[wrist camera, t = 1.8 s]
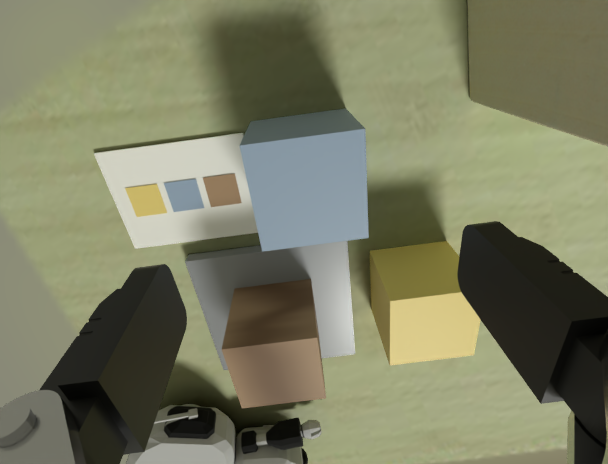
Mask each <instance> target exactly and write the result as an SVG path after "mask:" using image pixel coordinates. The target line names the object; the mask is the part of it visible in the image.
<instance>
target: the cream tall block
mask: <svg viewBox="0 0 608 464" xmlns="http://www.w3.org/2000/svg"><path fill="white" fill-rule="evenodd" d="M468 51H469V86H470V99H471V100H472V101H473V102H476V103H479V104H481V105H484V106H487V107H490V108H493V109H496V110H499V111H502V112H505V113H508V114H511V115H514V116H517V117H520V118H523V119H526V120H529V121H532V122H535V123H538V124H541V125H544V126H547V127H550V128H553V129H556V130H559V131H562V132H566V133H569V134H572V135H575V136H578V137H581V138H584V139H587V140H590V141H593V142H596V143H599V144H602V145H605V146H608V0H468Z"/></svg>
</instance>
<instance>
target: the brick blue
mask: <svg viewBox="0 0 608 464" xmlns="http://www.w3.org/2000/svg"><path fill="white" fill-rule="evenodd" d="M239 146H240V151H241V156H242V160H243V165H244V169H245V174H246V179H247V183H248V188H249V193H250V197H251V202H252V206H253V211H254V216H255V220H256V225H257V230H258V234H259V239H260V243H261V248H262V252H263V251H271V250H279V249H287V248H294V247H302V246H310V245H318V244H325V243H333V242H341V241H349V240H357V239H364V238H369V232H368V201H367V170H366V138H365V128H364V127H363V126H362V125H361V124H360V123H359V122H358V121H357V120H356V119H355V118H354V117H353V116H352V114H351V113H350V112H349V111H348V110H347V109H346V108H345V109H338V110H331V111H323V112H316V113H309V114H301V115H294V116H286V117H279V118H272V119H264V120H257V121H251V122H250V124H249V126H248V128H247V130H246V133H245V135H244V137H243V139H242V141H241V143H240V145H239Z"/></svg>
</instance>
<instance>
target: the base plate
mask: <svg viewBox="0 0 608 464" xmlns="http://www.w3.org/2000/svg"><path fill="white" fill-rule="evenodd" d="M185 263H186V266H187V269H188V271H189V274H190V277H191V280H192V282H193V285H194V288H195V291H196V294H197V296H198V299H199V302H200V305H201V308H202V310H203V313H204V316H205V319H206V322H207V324H208V327H209V330H210V333H211V336H212V338H213V341H214V344H215V347H216V350H217V352H218V355H219V358H220V361H221V364H222V366H223V369H224V370H228V367H227V364H226V361H225V358H224V355H223V352H222V345H223V340H224V335H225V331H226V326H227V321H228V317H229V312H230V307H231V302H232V298H233V293H234V289H235V288H243V287H251V286H259V285H266V284H274V283H282V282H290V281H298V280H306V279H311V282H312V289H313V296H314V303H315V311H316V318H317V325H318V332H319V340H320V349H321V358H328V357H336V356H344V355H352V354H355V344H354V330H353V316H352V301H351V287H350V273H349V258H348V244H347V241H341V242H333V243H325V244H318V245H310V246H302V247H294V248H287V249H279V250H271V251H263V252H262V248H261V245H259V246H251V247H244V248H236V249H228V250H220V251H213V252H205V253H197V254H190V255H188V257H187V259H186V261H185Z"/></svg>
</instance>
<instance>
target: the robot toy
mask: <svg viewBox="0 0 608 464" xmlns="http://www.w3.org/2000/svg"><path fill="white" fill-rule="evenodd" d="M320 434H321V428H320V423H319V422H318V421H317V420H308V421H307V422H305V423H304V424H302V425H300V421H299V418H294V419H289V420H284V421H279V422H278V423H276V424H275V425H263V427H253V428H244V429H243V430H242V431H241V432H240V433H239V434H238V435H237V437H236V432H235V426H234V424H233V422H232V421H231V420H230V418H229V417H228V416H227V415H225V414H224V413H223V412H221V411H220V410H218V409H217V408H212V407H200V406H198V405H195V404H185V405H181V406H179V405H169V406H167V407H165V408H163V409H161V410H158V413H157V416H156V419H155V422H154V425H153V428H152V431H151V434H150V437H149V440H148V443H147V446H146V449H145V452H140V453H132V454H129V455H128V459H127V461H126V464H307V463H308V458H307V454H306V452H305V451H304V449H302V448H301V446H303V439H302V437H304V438H309V439H314V438H316V437H319V436H320ZM235 437H236V439H235Z"/></svg>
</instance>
